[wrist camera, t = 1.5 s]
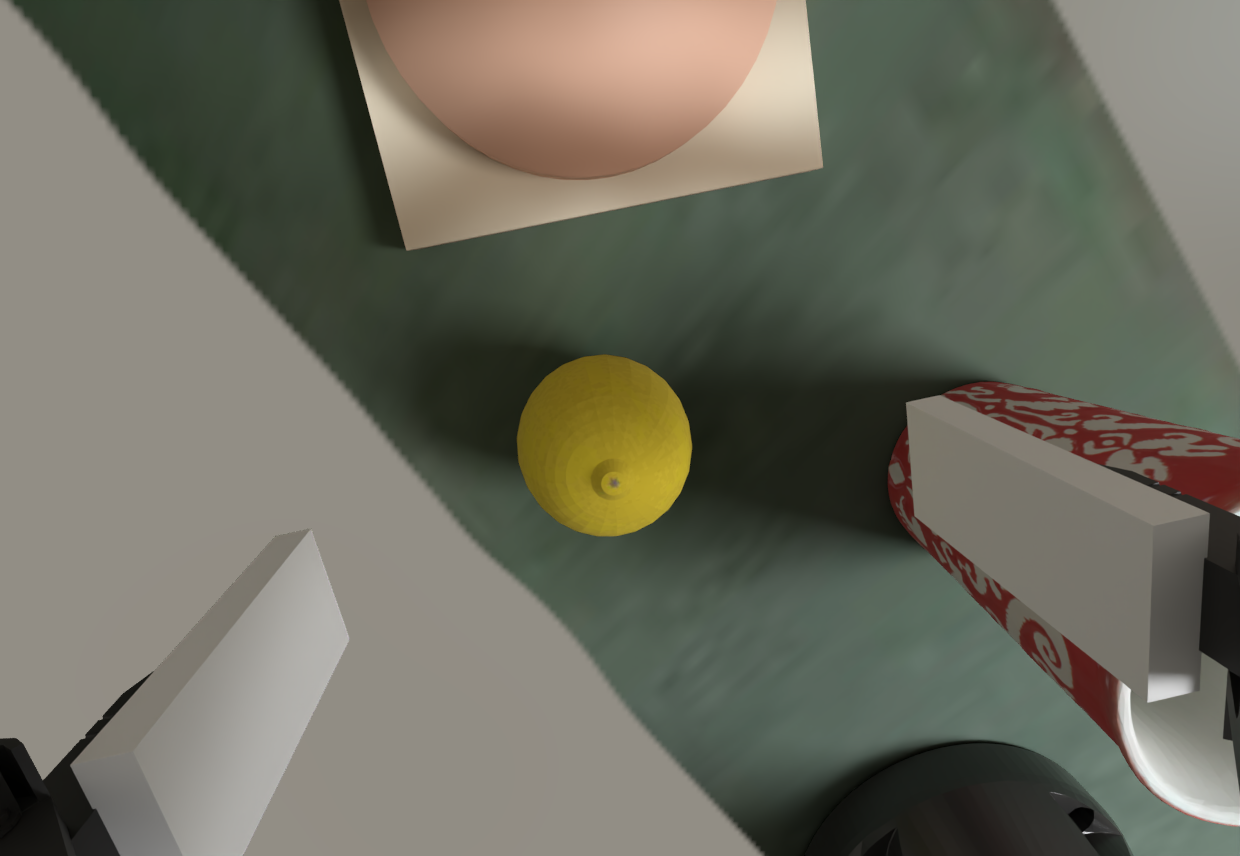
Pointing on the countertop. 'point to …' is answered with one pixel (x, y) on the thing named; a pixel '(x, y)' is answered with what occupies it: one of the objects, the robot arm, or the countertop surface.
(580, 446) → the lemon
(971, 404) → the mug
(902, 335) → the countertop surface
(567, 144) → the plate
